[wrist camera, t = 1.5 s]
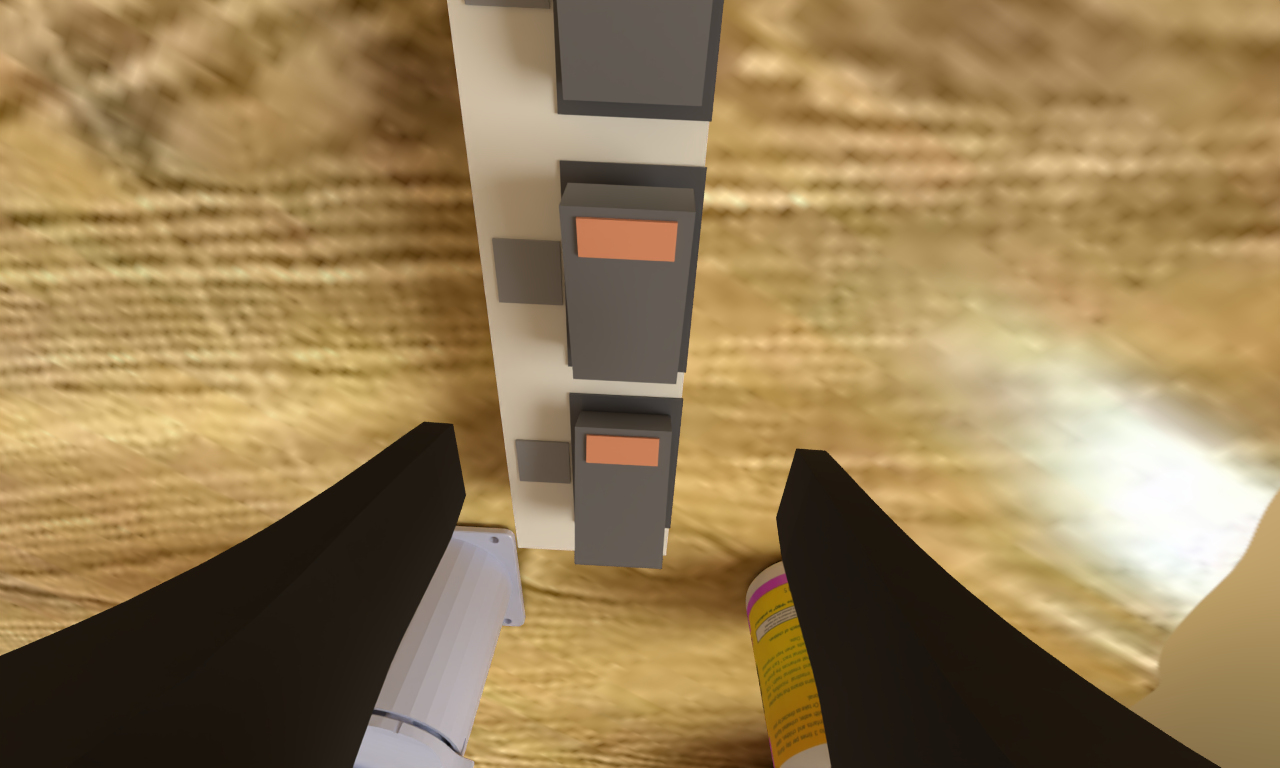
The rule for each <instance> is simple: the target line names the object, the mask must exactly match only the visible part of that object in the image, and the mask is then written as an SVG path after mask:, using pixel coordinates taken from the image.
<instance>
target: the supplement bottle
mask: <svg viewBox="0 0 1280 768" xmlns="http://www.w3.org/2000/svg"><path fill="white" fill-rule="evenodd" d="M746 610H747V617H748V623H749V628H750V634H751V640H752V645H753V651H754V657H755V662H756V668H757V674H758V679H759V685H760V691H761V697H762V702H763V708H764V714H765V720H766V725H767V731H768V737H769V742H770V748H771V754H772V760H773V766H774V768H831V764H830V758H829V752H828V746H827V741H826V735H825V730H824V724H823V719H822V713H821V708H820V702H819V697H818V692H817V688H816V684H815V680H814V675H813V671H812V668H811V664H810V660H809V657H808V653H807V650H806V646H805V643H804V639H803V635H802V632H801V628H800V625H799V621H798V617H797V614H796V610H795V607H794V603H793V600H792V596H791V592H790V589H789V585H788V581H787V577H786V574H785V570H784V566H783V562H782V561H781V562H778V563H776V564H773V565H772V566H770V567H768V568H766V569H765V570H764V571H762V572H761V573H760V574H759V575H758V576H757V577H756V578H755V579H754V580H753V581H752V583H751V584H750V586H749V588H748V591H747V594H746Z"/></svg>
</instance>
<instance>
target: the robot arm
mask: <svg viewBox="0 0 1280 768" xmlns="http://www.w3.org/2000/svg"><path fill="white" fill-rule="evenodd" d="M465 496H466V493H465V487H464V482H463V476H462V471H461V465H460V460H459V454H458V449H457V443H456V438H455V432H454V427H453V424H448V423H434V422H423V423H422V424H420V425H419V426H417V427H416V428H414V429H413V430H411V431H410V432H408V433H407V434H405V435H404V436H403V437H401V438H400V439H398V440H397V441H396V442H394V443H393V444H391V445H390V446H389V447H387V448H386V449H384V450H383V451H382V452H380V453H379V454H377V455H376V456H375V457H373V458H372V459H370V460H369V461H368V462H366V463H365V464H363V465H362V466H360V467H359V468H358V469H356V470H355V471H353V472H352V473H350V474H349V475H348V476H346V477H345V478H343V479H342V480H340V481H339V482H337V483H336V484H335V485H333V486H332V487H330V488H328V489H327V490H325V491H324V492H322V493H321V494H319V495H318V496H316V497H314V498H313V499H311V500H310V501H308V502H307V503H305V504H304V505H302V506H301V507H299V508H297V509H296V510H294V511H293V512H291V513H290V514H288V515H287V516H285V517H283V518H282V519H280V520H279V521H277V522H275V523H274V524H272V525H270V526H269V527H267V528H265V529H264V530H262V531H260V532H258V533H257V534H255V535H253V536H252V537H250V538H248V539H246V540H245V541H243V542H241V543H239V544H237V545H235V546H234V547H232V548H230V549H228V550H226V551H225V552H223V553H221V554H219V555H217V556H216V557H214V558H212V559H210V560H208V561H206V562H204V563H202V564H201V565H199V566H197V567H195V568H192V569H190V570H188V571H186V572H184V573H182V574H180V575H178V576H176V577H174V578H172V579H170V580H168V581H166V582H164V583H162V584H160V585H158V586H156V587H154V588H152V589H150V590H148V591H146V592H144V593H142V594H140V595H138V596H136V597H134V598H132V599H130V600H128V601H125V602H123V603H121V604H119V605H117V606H115V607H113V608H110V609H108V610H106V611H104V612H101V613H99V614H97V615H95V616H92V617H90V618H88V619H86V620H83V621H81V622H79V623H77V624H75V625H72V626H70V627H68V628H65V629H63V630H61V631H58V632H56V633H54V634H51V635H49V636H47V637H44V638H42V639H39V640H37V641H35V642H32V643H30V644H28V645H25V646H23V647H21V648H18V649H16V650H13V651H11V652H8V653H6V654H3V655H1V656H0V768H473V766H474V761H473V760H470V759H467V758H465V757H464V753H465V750H466V746H467V743H468V740H469V736H470V733H471V729H472V726H473V722H474V719H475V716H476V712H477V709H478V705H479V702H480V699H481V695H482V692H483V688H484V685H485V681H486V678H487V675H488V671H489V668H490V664H491V661H492V658H493V654H494V651H495V647H496V644H497V641H498V637H499V634H500V630H501V627H502V625H504V626H521V625H523V624H524V621H525V609H524V602H523V594H522V587H521V579H520V571H519V564H518V556H517V549H516V541H515V535H514V533H513V532H512V531H511V530H509V529H504V528H485V527H466V526H456V524H457V521H458V518H459V515H460V512H461V509H462V506H463V503H464V499H465ZM776 520H777V528H778V535H779V543H780V549H781V555H782V562H783V566H784V570H785V574H786V577H787V581H788V585H789V589H790V592H791V596H792V600H793V603H794V607H795V610H796V614H797V617H798V621H799V625H800V628H801V632H802V635H803V639H804V643H805V646H806V650H807V653H808V657H809V660H810V664H811V668H812V671H813V675H814V680H815V684H816V688H817V692H818V697H819V702H820V708H821V713H822V719H823V724H824V730H825V735H826V741H827V746H828V752H829V758H830V764H831V768H1221V767H1219V766H1218V765H1216V764H1214V763H1212V762H1211V761H1209V760H1208V759H1206V758H1204V757H1203V756H1201V755H1199V754H1198V753H1196V752H1194V751H1193V750H1191V749H1190V748H1188V747H1186V746H1185V745H1183V744H1182V743H1180V742H1178V741H1177V740H1175V739H1174V738H1172V737H1171V736H1169V735H1168V734H1166V733H1165V732H1163V731H1162V730H1160V729H1158V728H1157V727H1155V726H1154V725H1152V724H1151V723H1149V722H1148V721H1146V720H1144V719H1143V718H1141V717H1140V716H1139V715H1137V714H1135V713H1134V712H1132V711H1131V710H1129V709H1128V708H1126V707H1125V706H1123V705H1122V704H1120V703H1119V702H1117V701H1116V700H1114V699H1113V698H1111V697H1110V696H1108V695H1107V694H1105V693H1104V692H1103V691H1101V690H1100V689H1098V688H1097V687H1095V686H1094V685H1092V684H1091V683H1089V682H1088V681H1086V680H1085V679H1084V678H1082V677H1081V676H1079V675H1078V674H1077V673H1075V672H1074V671H1072V670H1071V669H1070V668H1068V667H1067V666H1065V665H1064V664H1063V663H1061V662H1060V661H1059V660H1057V659H1056V658H1054V657H1053V656H1052V655H1050V654H1049V653H1048V652H1046V651H1045V650H1043V649H1042V648H1041V647H1039V646H1038V645H1037V644H1035V643H1034V642H1032V641H1031V640H1030V639H1029V638H1027V637H1026V636H1025V635H1023V634H1022V633H1021V632H1019V631H1018V630H1017V629H1015V628H1014V627H1013V626H1011V625H1010V624H1009V623H1008V622H1006V621H1005V620H1004V619H1003V618H1001V617H1000V616H999V615H998V614H997V613H995V612H994V611H993V610H992V609H990V608H989V607H988V606H987V605H985V604H984V603H983V602H982V601H981V600H979V599H978V598H977V597H976V596H974V595H973V594H972V593H971V592H969V591H968V590H967V589H966V588H965V587H964V586H962V585H961V584H960V583H959V582H958V581H957V580H955V579H954V578H953V577H952V576H951V575H950V574H949V573H948V572H946V571H945V570H944V569H943V568H942V567H941V566H940V565H939V564H938V563H937V562H936V561H934V560H933V559H932V558H931V557H930V556H929V555H928V554H927V553H926V552H925V551H924V550H922V549H921V548H920V547H919V546H918V545H917V544H916V543H915V542H914V541H913V540H912V539H911V538H910V537H909V536H908V535H907V534H906V533H905V532H904V531H903V530H902V529H901V528H900V527H899V526H898V525H897V524H896V523H895V522H894V521H893V520H892V519H891V518H890V517H889V516H888V515H887V514H886V513H885V512H884V511H883V510H882V509H881V508H880V507H879V506H878V505H877V504H876V503H875V502H874V501H873V500H872V499H871V498H870V497H869V496H868V495H867V494H866V493H865V491H864V490H863V489H862V488H861V487H860V486H859V485H858V484H857V483H856V482H855V481H854V480H853V479H852V478H851V477H850V476H849V474H848V473H847V472H846V471H845V470H844V469H843V468H842V467H841V466H840V465H839V464H838V463H837V462H836V461H835V460H834V459H833V458H832V457H831V456H830V455H829V454H828V453H827V452H826V451H823V450H809V449H796V451H795V455H794V458H793V462H792V465H791V468H790V472H789V475H788V479H787V482H786V486H785V489H784V493H783V496H782V499H781V503H780V506H779V510H778V513H777V517H776ZM493 536H494V537H493ZM496 537H497V538H496Z"/></svg>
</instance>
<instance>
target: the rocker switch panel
mask: <svg viewBox="0 0 1280 768" xmlns="http://www.w3.org/2000/svg"><path fill="white" fill-rule="evenodd" d="M723 3H724V0H713V3H712V12H711V22H710V31H709V41H708V50H707V60H706V69H705V79H704V88H703V98H702V106H685V105H664V104H642V103H621V102H599V101H578V100H563V88H562V73H561V58H560V43H559V28H558V13H557V0H447V4H448V12H449V19H450V27H451V35H452V42H453V50H454V58H455V65H456V73H457V81H458V89H459V96H460V104H461V112H462V119H463V127H464V135H465V142H466V150H467V158H468V165H469V173H470V181H471V189H472V196H473V204H474V212H475V219H476V227H477V235H478V242H479V250H480V258H481V266H482V273H483V281H484V289H485V296H486V304H487V312H488V319H489V327H490V335H491V342H492V350H493V358H494V366H495V373H496V381H497V389H498V396H499V404H500V412H501V419H502V427H503V435H504V443H505V450H506V458H507V466H508V473H509V481H510V489H511V496H512V504H513V512H514V519H515V527H516V535H517V543H518V548H535V549H554V550H573V551H575V425H576V423H577V420H578V417H579V414H580V412H581V411H596V412H615V413H634V414H654V415H670V416H671V427H672V438H671V451H670V465H669V478H668V492H667V506H666V519H665V533H664V546H663V555H666V550H667V540H668V530H669V528H670V525H671V515H672V505H673V495H674V485H675V475H676V466H677V456H678V446H679V436H680V426H681V416H682V407H683V398H682V390H683V380H684V372H685V373H686V367H687V357H688V348H689V338H690V328H691V318H692V308H693V298H694V288H695V279H696V269H697V259H698V249H699V239H700V229H701V220H702V210H703V200H704V190H705V180H706V170H707V167H705V158H706V148H707V138H708V128H709V121H710V122H711V121H712V111H713V102H714V92H715V82H716V72H717V62H718V52H719V43H720V33H721V23H722V13H723ZM567 183H585V184H606V185H626V186H647V187H668V188H689V189H693V190H694V200H695V210H696V214H695V223H694V232H693V241H692V250H691V258H690V267H689V276H688V285H687V294H686V303H685V311H684V320H683V329H682V338H681V347H680V356H679V364H678V373H677V382H676V384H661V383H642V382H622V381H603V380H583V379H573V370H572V358H571V346H570V334H569V322H568V310H567V298H566V286H565V274H564V262H563V250H562V238H561V226H560V214H559V204H560V201H561V199H562V196H563V194H564V191H565V188H566V186H567Z"/></svg>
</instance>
